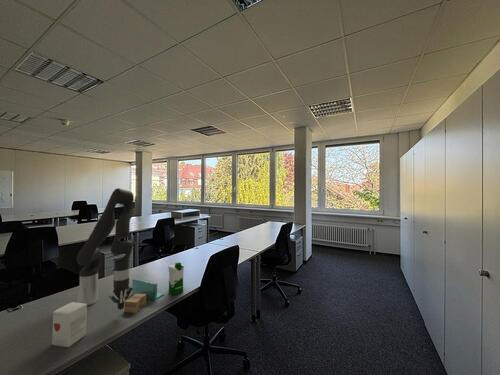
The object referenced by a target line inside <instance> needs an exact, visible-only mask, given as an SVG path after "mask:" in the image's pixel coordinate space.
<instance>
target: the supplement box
mask: <svg viewBox="0 0 500 375" xmlns="http://www.w3.org/2000/svg"><path fill="white" fill-rule="evenodd" d="M87 311H88V305H87V304H84V303H77V302H76V301H75V302H74V301H73V302H72V301H71V302H69V303H67V304H66V305H65V304H64V306H61V307H60V308H57V309H56V310H54V311H53V312H52V340H51V342H52V343H51V345H52V346H58V347H65V348H70V347H71V346H73V345H74V344H76V343H77V342H78V341H80V339H82V338H83V337H85V336H86V335H87V320H88V319H87V318H88V317H87V314H88V312H87Z"/></svg>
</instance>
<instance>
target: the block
mask: <svg viewBox="0 0 500 375" xmlns="http://www.w3.org/2000/svg"><path fill="white" fill-rule="evenodd" d="M145 305H147V298H146V294H134V295H133V294H132V296H131V297H128V299H126V300H125V301H124V313H134V314H135V313H138V312H139V311H140V310H141V309H142V308H143V307H144V306H145Z"/></svg>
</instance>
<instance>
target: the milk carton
mask: <svg viewBox="0 0 500 375" xmlns="http://www.w3.org/2000/svg"><path fill="white" fill-rule="evenodd" d="M184 269H185V265H184V264H182V263H181V262H175V263H174V264H170V265H168V273H169V274H168V293H169V294H171V295H173V296H177V295H179V294H181V293H184Z"/></svg>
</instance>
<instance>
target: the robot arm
mask: <svg viewBox="0 0 500 375" xmlns="http://www.w3.org/2000/svg"><path fill="white" fill-rule="evenodd" d="M134 198H135V197H134V193H133V192H132V191H130V190H126V189H122V188H119V187H118V188H115V189H114V190H113V191H112V193H111V195H110V197H109V199H108V202H107V204H106V206H105V208H104V210H103V212H102V214H101V215H100V217H99V218H98V221H96V224H95V226H94V228H93V230H92V231H91V233H90V235H89V237H88V239H87V240H86V241H85V243H84V245H83V246H82V247H81V248H80V250H79V252H78V253H77V255H76V262H77V263H78V265H80V266H83V268H82V269H81V270H80V271H79V287H78V288H77V298H76V299H77V301H76V303H84V304H87V306H90V305H93V304H95V303H96V302H98V301H99V300H98V297H99V294H98V292H99V291H98V290H99V270H100V268H101V257H102V256H101V250H100V249H99V246H100V245H101V244H102V243H103V242H104V241H105V240H106V239H107V238H108V237H109V236H110V234H111V233H112V231H113V230H114V227H115V233H114V239H113V241H112V244H111V246H110V252H111V254H112V255H122V256H120V257H118V258H116V259H115V260H114V262H113V263H114V266H113V268H114V271H113V280H112V281H113V285H112V286H113V291H112V294H111V295H109V296H108V299H110V300H111V301H112V302H113V303H115V304H117V309H118V310H120V311H121V310H124V308H125V301H126V300H128V299H129V298H130V297H129V296H130V295H131V294H132V289H133V288H132V287H130V258H131V254H132V251H133V247H134V244H133V242H132V240H127V239H126V240H122V239H125V238H128V237H129V236H130V232H131V230H130V228H131V227H130V226H131V225H130V224H131V223H130V221H131V214H132V210H133V205H134ZM117 205H120V206H121V205H123V207H124V208H123V212H122V213H121V215H119V217H118V218H117V220H116V218H115V210H116V209H115V208H116V206H117Z"/></svg>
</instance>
